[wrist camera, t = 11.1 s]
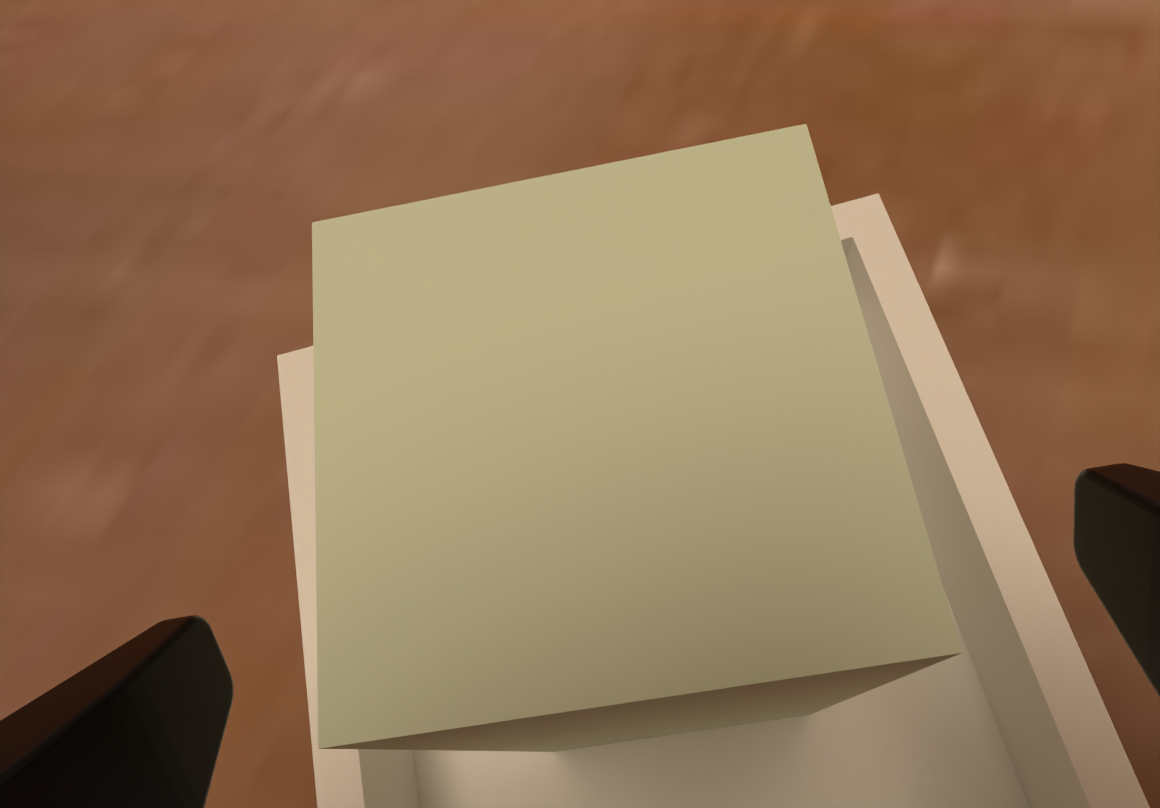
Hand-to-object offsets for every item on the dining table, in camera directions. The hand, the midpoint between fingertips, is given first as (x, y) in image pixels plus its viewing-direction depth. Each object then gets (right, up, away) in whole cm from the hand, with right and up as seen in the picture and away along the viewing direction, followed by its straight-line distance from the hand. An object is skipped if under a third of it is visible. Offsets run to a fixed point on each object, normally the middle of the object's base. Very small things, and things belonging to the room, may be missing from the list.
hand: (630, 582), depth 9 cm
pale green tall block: (+1, -2, +9) cm, 9 cm away
